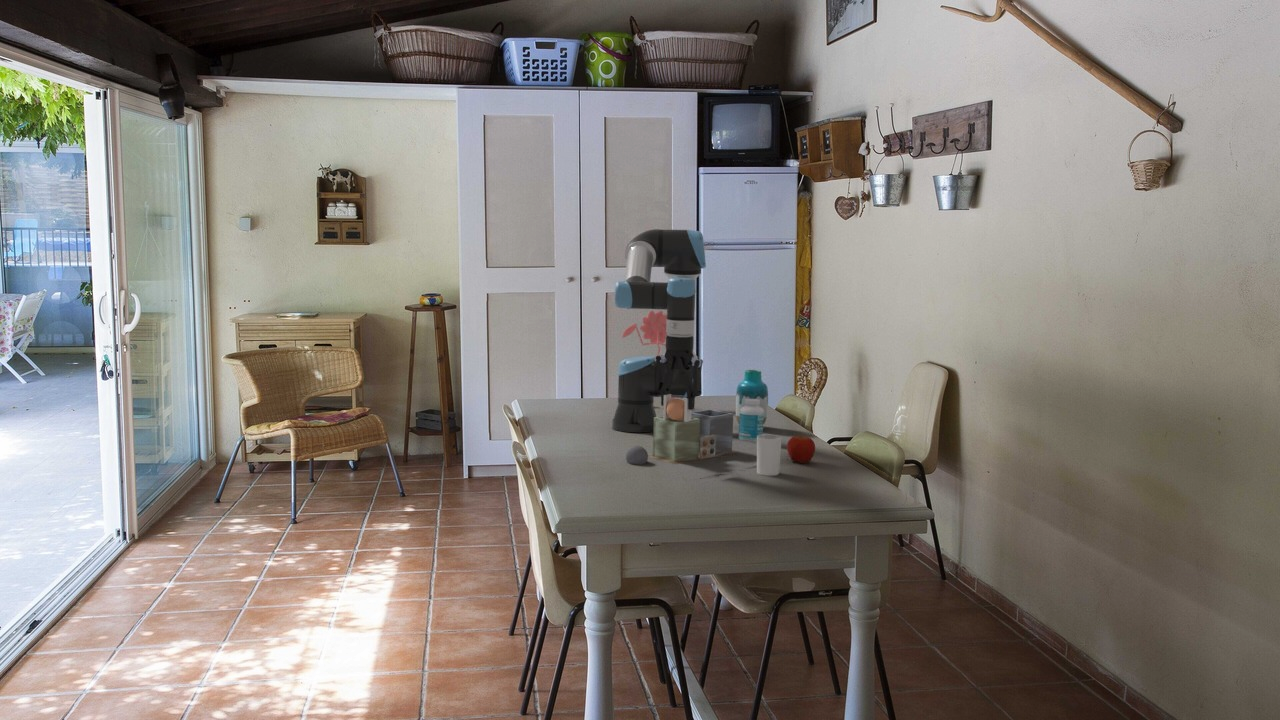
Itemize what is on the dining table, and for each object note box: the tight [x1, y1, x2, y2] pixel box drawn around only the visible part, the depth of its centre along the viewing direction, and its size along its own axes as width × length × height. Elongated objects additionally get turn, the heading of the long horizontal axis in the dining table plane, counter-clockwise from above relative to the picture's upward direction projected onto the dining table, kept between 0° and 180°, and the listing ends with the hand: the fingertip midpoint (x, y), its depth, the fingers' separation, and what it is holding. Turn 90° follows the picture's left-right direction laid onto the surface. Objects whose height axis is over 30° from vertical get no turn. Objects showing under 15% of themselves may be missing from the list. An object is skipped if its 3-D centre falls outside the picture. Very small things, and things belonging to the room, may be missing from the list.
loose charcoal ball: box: [625, 445, 649, 466], centre depth 276 cm, size 6×6×6 cm
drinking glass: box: [756, 433, 783, 477], centre depth 274 cm, size 7×7×10 cm
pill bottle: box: [738, 399, 764, 444], centre depth 313 cm, size 8×7×14 cm
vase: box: [735, 369, 769, 426], centre depth 337 cm, size 11×11×19 cm
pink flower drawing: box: [621, 310, 675, 400], centre depth 377 cm, size 15×26×35 cm, turn 101°
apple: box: [786, 435, 816, 464], centre depth 288 cm, size 8×8×8 cm
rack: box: [648, 408, 739, 465], centre depth 288 cm, size 12×26×12 cm, turn 134°
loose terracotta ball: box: [667, 398, 685, 421], centre depth 278 cm, size 6×6×6 cm
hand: (677, 419), depth 278 cm, fingers closed on loose terracotta ball, 6 cm apart
